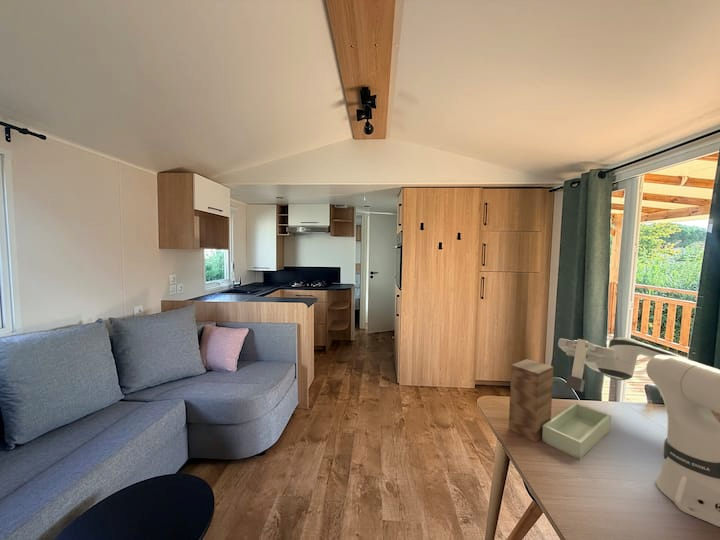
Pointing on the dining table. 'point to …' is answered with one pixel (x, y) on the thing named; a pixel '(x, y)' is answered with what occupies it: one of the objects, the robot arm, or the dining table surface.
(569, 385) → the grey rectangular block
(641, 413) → the dining table surface
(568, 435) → the bin
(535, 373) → the stand
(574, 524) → the dining table surface
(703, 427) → the robot arm
